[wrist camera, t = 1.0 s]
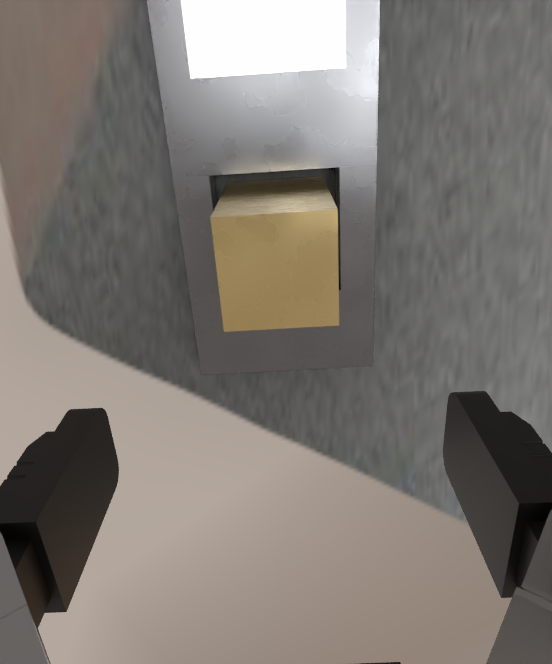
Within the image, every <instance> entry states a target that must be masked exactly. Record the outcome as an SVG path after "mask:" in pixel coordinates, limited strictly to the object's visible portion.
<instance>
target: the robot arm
mask: <svg viewBox="0 0 552 664" xmlns="http://www.w3.org/2000/svg"><path fill="white" fill-rule="evenodd" d="M443 458H444V465H445V469H446V473H447V475H448V478H449V480H450V482H451V485H452V487H453V489H454V491H455V494H456V496H457V498H458V500H459V503H460V505H461V507H462V510H463V512H464V514H465V516H466V519H467V521H468V523H469V525H470V528H471V530H472V532H473V535H474V537H475V539H476V541H477V544H478V546H479V548H480V551H481V552H482V555H483V557H484V560H485V562H486V564H487V566H488V569H489V571H490V573H491V575H492V578H493V580H494V582H495V585H496V587H497V589H498V591H499V594H500V596H501V598H507V597H512V599H511V602H510V604H509V607H508V610H507V612H506V615H505V617H504V620H503V622H502V625H501V627H500V630H499V632H498V635H497V638H496V640H495V643H494V645H493V648H492V650H491V653H490V655H489V658H488V661H487V663H486V664H552V453H551V451H550V450H549V449H548V447H547V446H546V445H545V444H543V443H542V439H541V438H540V437H539V435H538V434H537V433H536V431H535V430H534V429H533V427H532V426H531V425H530V424H529V423H527V422H526V421H524V420H523V419H521V418H520V417H518V416H517V415H515V414H514V413H512V412H500V411H499V409H498V408H497V407H496V405H495V404H494V402H493V401H492V399H491V398H490V396H489V395H488V394H487V393H486V392H485V391H474V392H453V393H450V395H449V398H448V404H447V414H446V424H445V434H444V444H443ZM118 474H119V467H118V459H117V455H116V450H115V446H114V442H113V437H112V433H111V429H110V425H109V420H108V416H107V413H106V411H105V410H104V409H103V408H91V409H71V410H69V411H68V412H67V413H66V414H65V416H64V418H63V419H62V421H61V422H60V424H59V425H58V427H57V429H56V430H55V432H46V433H45V434H43V435H42V436H41V437H39V438H38V439H37V440H35V441H34V442H33V443H32V444H30V445H29V446H28V447H27V448H26V450H25V451H24V453H23V454H22V456H21V457H20V459H19V460H18V461H17V466H14V467H13V469H12V470H11V472H10V473H9V475H8V477H7V479H6V480H4V482H3V483H2V485H1V486H0V664H50V661H49V658H48V656H47V653H46V650H45V647H44V644H43V642H42V639H41V636H40V633H39V631H38V626H39V624H40V622H41V619H42V617H43V615H44V613H50V612H66V611H67V609H68V606H69V604H70V601H71V599H72V597H73V594H74V592H75V589H76V587H77V584H78V582H79V579H80V576H81V574H82V572H83V569H84V567H85V564H86V562H87V559H88V556H89V554H90V552H91V549H92V547H93V544H94V542H95V539H96V537H97V534H98V531H99V529H100V527H101V524H102V521H103V519H104V517H105V514H106V511H107V509H108V507H109V504H110V502H111V499H112V497H113V494H114V492H115V489H116V486H117V482H118ZM362 664H401V663H400V662H393V663H392V662H391V663H362Z"/></svg>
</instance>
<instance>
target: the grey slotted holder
mask: <svg viewBox="0 0 552 664" xmlns="http://www.w3.org/2000/svg"><path fill="white" fill-rule="evenodd" d="M147 5H148V12H149V19H150V26H151V33H152V40H153V47H154V54H155V60H156V67H157V74H158V81H159V88H160V95H161V102H162V109H163V116H164V123H165V129H166V136H167V143H168V150H169V157H170V164H171V171H172V178H173V185H174V191H175V198H176V205H177V212H178V219H179V226H180V233H181V240H182V247H183V254H184V260H185V267H186V274H187V281H188V288H189V295H190V302H191V309H192V316H193V323H194V329H195V336H196V343H197V350H198V357H199V364H200V371H201V375H212V374H231V373H249V372H268V371H287V370H306V369H324V368H343V367H362V366H373V333H374V280H375V227H376V174H377V122H378V69H379V16H380V0H147ZM335 167H336V207H337V209H338V272H339V326H321V327H303V328H285V329H267V330H249V331H230V332H224V329H223V320H222V312H221V303H220V295H219V286H218V278H217V269H216V261H215V253H214V244H213V236H212V227H211V219H210V217H211V215H212V213H213V211H214V209H215V207H216V205H217V196H216V187H215V178H214V175H227V174H243V173H258V172H273V171H289V170H304V169H319V168H335Z"/></svg>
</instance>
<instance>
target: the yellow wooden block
mask: <svg viewBox="0 0 552 664" xmlns="http://www.w3.org/2000/svg"><path fill="white" fill-rule="evenodd" d="M210 219H211V227H212V236H213V244H214V253H215V261H216V269H217V278H218V286H219V295H220V303H221V312H222V320H223V329H224V332H230V331H249V330H267V329H285V328H303V327H321V326H339V272H338V209H337V207H336V205H335V202H334V200H333V198H332V196H331V194H330V192H329V189H328V187H327V185H326V183H325V181H324V179H323V177H322V176H317V177H301V178H286V179H270V180H255V181H239V182H228V184H227V186H226V188H225V190H224V192H223V194H222V195H221V197H220V199H219V201H218V203H217V205H216V207H215V209H214V211H213V213H212V215H211V217H210Z"/></svg>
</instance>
